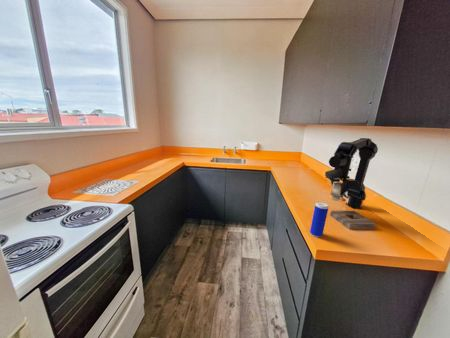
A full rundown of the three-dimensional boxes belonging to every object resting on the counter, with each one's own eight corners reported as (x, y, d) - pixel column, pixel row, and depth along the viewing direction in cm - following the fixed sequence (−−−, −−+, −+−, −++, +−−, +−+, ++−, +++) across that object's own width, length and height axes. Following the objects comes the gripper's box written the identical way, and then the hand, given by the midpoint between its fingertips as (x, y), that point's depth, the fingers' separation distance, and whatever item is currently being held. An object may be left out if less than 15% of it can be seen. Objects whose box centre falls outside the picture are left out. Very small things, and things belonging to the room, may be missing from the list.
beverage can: (318, 231, 85) (324, 202, 82) (324, 238, 80) (331, 207, 77) (307, 231, 85) (313, 201, 81) (313, 237, 80) (319, 206, 76)
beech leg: (327, 197, 104) (330, 181, 102) (337, 197, 105) (340, 181, 103) (334, 202, 98) (338, 185, 96) (344, 202, 99) (348, 185, 97)
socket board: (330, 215, 102) (331, 210, 102) (352, 215, 104) (353, 210, 103) (349, 229, 89) (350, 223, 88) (374, 229, 90) (376, 223, 90)
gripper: (319, 161, 105) (314, 187, 109) (341, 169, 87) (335, 199, 91) (337, 162, 106) (331, 187, 110) (363, 170, 88) (355, 200, 92)
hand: (337, 193), depth 101 cm, fingers closed on beech leg, 6 cm apart
